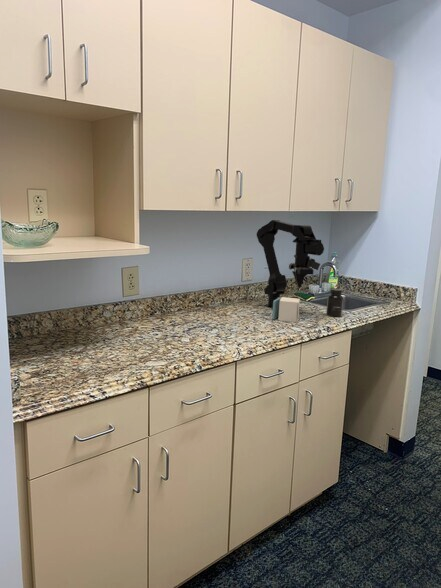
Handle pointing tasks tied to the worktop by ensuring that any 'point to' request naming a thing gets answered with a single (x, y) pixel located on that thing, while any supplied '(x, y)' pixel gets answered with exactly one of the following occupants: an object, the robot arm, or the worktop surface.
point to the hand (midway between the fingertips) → (299, 287)
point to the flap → (275, 308)
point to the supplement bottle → (335, 303)
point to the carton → (289, 309)
